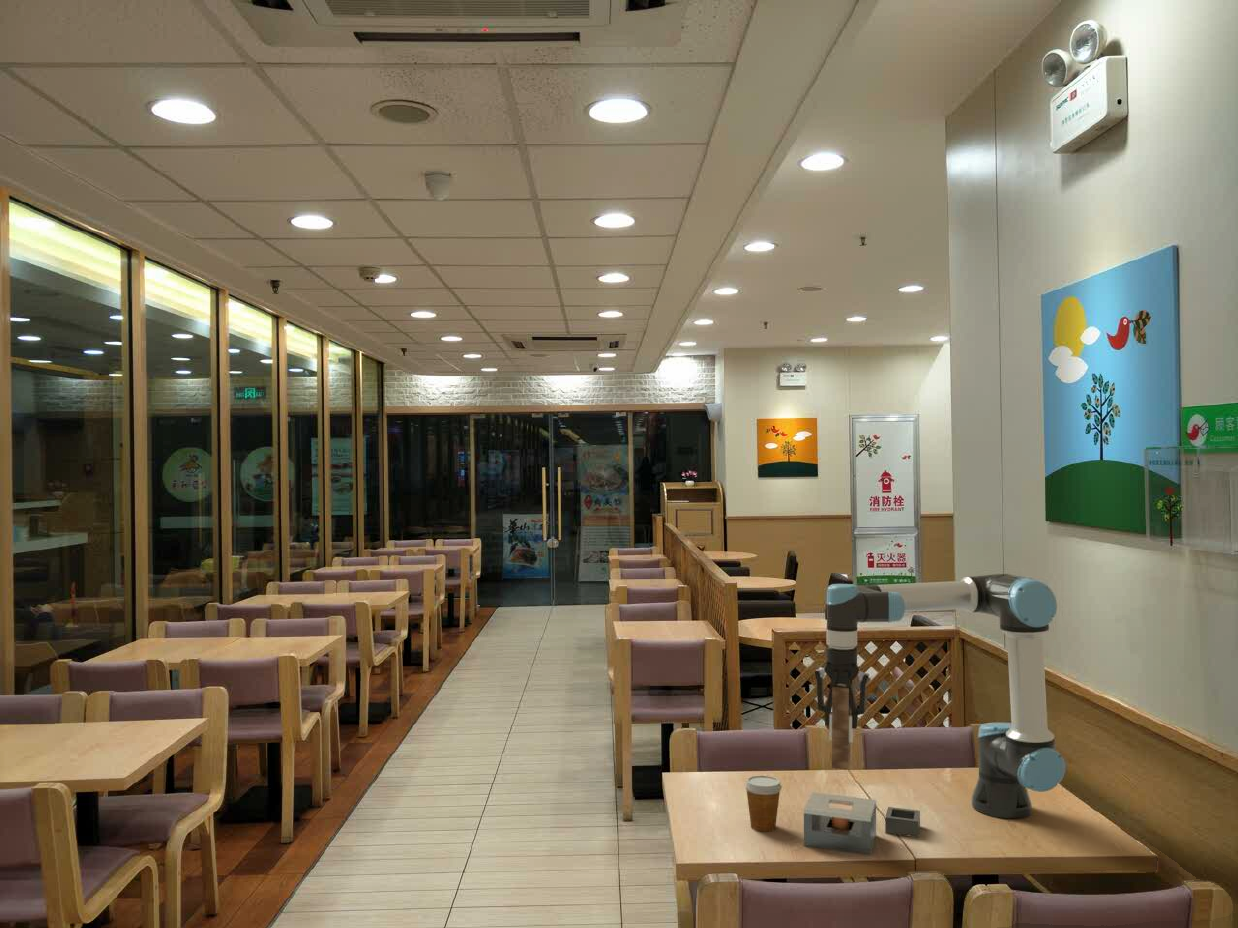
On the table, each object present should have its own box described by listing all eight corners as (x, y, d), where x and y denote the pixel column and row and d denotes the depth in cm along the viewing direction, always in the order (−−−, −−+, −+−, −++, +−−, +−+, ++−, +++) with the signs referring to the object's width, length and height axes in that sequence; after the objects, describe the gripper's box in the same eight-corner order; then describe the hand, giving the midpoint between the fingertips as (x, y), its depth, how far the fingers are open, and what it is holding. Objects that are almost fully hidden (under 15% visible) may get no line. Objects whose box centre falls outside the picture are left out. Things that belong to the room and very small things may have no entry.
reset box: (876, 835, 240) (876, 799, 240) (870, 854, 228) (870, 817, 228) (812, 826, 246) (812, 792, 246) (803, 845, 234) (803, 808, 234)
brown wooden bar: (850, 764, 238) (850, 685, 238) (848, 769, 235) (848, 688, 235) (834, 762, 240) (834, 683, 240) (831, 767, 236) (832, 687, 236)
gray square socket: (920, 825, 246) (920, 810, 246) (918, 837, 239) (918, 821, 239) (888, 821, 249) (888, 806, 249) (885, 832, 242) (885, 817, 242)
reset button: (850, 826, 238) (850, 810, 238) (848, 832, 234) (848, 816, 234) (832, 824, 240) (832, 808, 240) (830, 830, 236) (830, 814, 236)
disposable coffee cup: (756, 817, 253) (756, 772, 253) (788, 825, 247) (788, 779, 247) (737, 827, 245) (737, 781, 245) (769, 836, 239) (769, 789, 239)
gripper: (878, 646, 238) (878, 739, 238) (810, 641, 244) (809, 732, 244) (875, 651, 231) (874, 747, 231) (804, 646, 237) (804, 740, 237)
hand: (841, 739), depth 237 cm, fingers closed on brown wooden bar, 4 cm apart
